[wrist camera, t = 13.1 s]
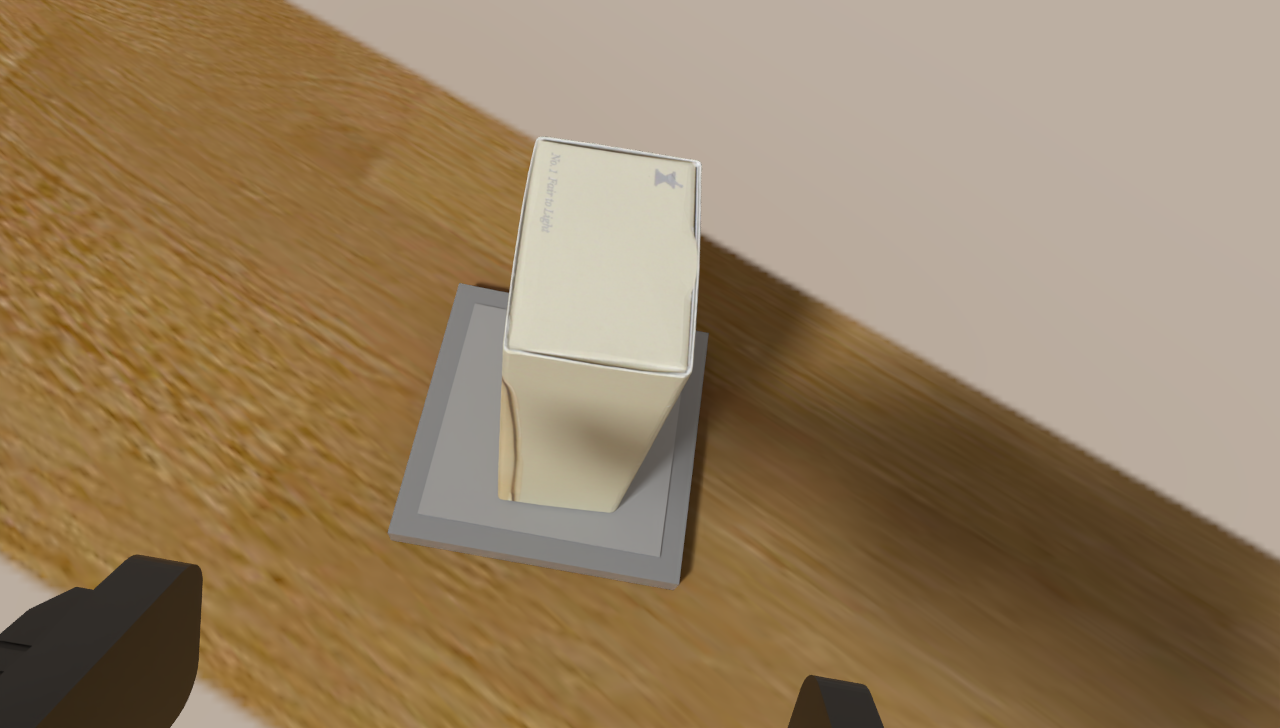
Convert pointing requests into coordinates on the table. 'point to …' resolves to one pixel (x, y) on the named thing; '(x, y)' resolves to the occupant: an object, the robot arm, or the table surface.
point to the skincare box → (596, 320)
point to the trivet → (522, 532)
